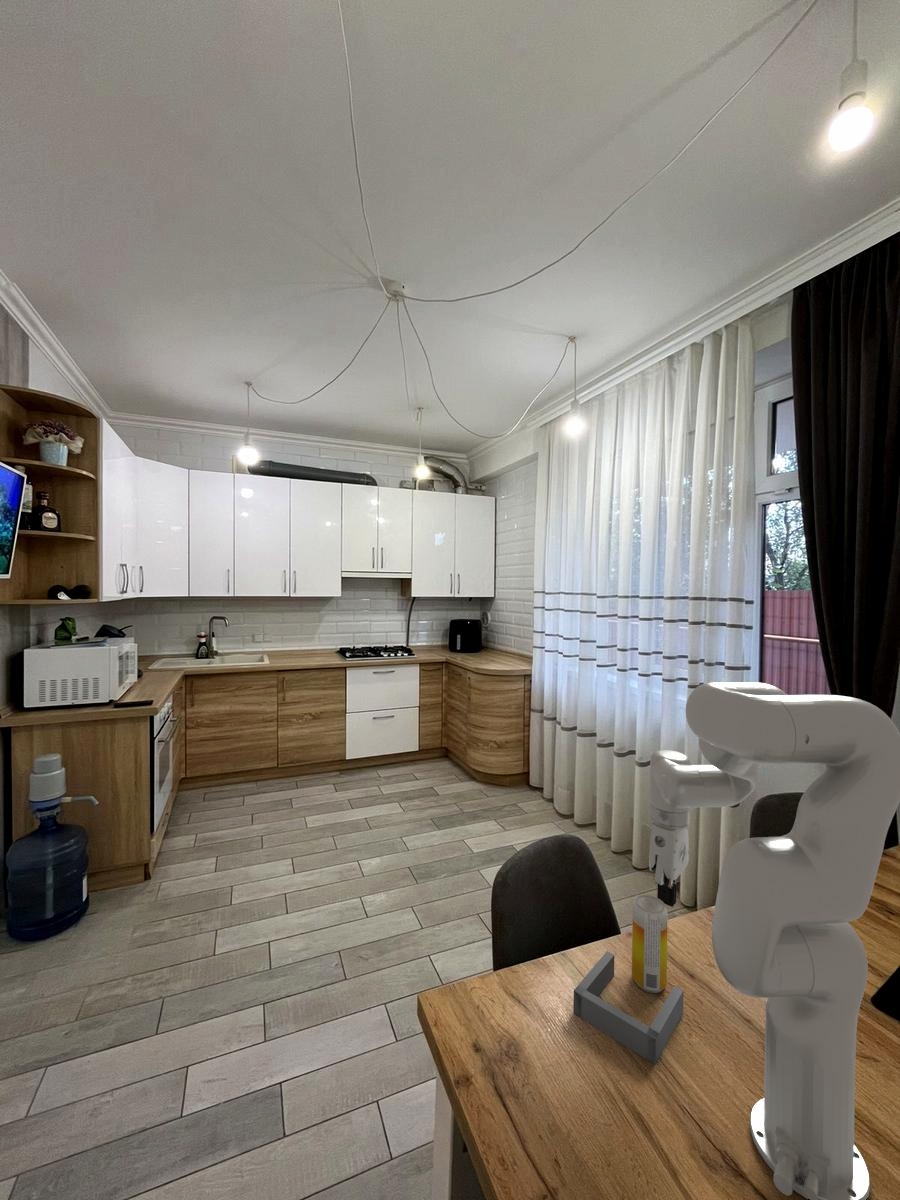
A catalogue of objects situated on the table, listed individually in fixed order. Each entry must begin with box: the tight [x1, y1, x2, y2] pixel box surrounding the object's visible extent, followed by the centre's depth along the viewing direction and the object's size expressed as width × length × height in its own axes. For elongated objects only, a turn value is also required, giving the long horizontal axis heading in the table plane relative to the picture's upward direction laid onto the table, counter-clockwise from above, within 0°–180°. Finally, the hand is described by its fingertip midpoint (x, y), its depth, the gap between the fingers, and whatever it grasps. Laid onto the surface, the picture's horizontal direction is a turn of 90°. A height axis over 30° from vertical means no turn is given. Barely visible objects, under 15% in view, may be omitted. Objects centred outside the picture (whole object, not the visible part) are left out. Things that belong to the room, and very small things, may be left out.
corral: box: [572, 950, 684, 1066], centre depth 86 cm, size 13×14×4 cm
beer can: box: [631, 894, 669, 994], centre depth 93 cm, size 6×6×15 cm
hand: (666, 902), depth 101 cm, fingers closed
